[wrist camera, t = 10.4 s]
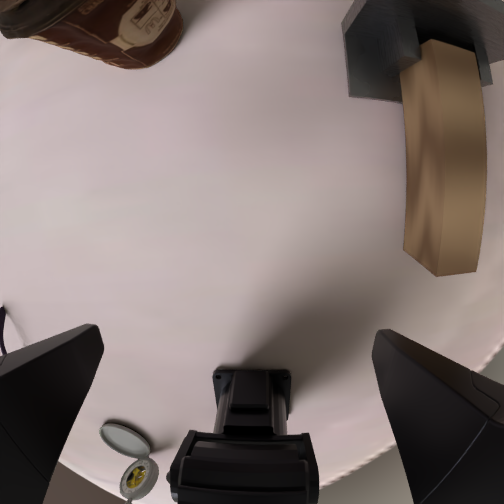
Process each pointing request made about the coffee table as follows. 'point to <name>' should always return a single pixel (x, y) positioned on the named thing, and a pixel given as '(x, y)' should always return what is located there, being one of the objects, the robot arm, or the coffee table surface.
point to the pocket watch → (138, 448)
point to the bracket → (415, 39)
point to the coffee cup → (98, 27)
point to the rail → (444, 159)
